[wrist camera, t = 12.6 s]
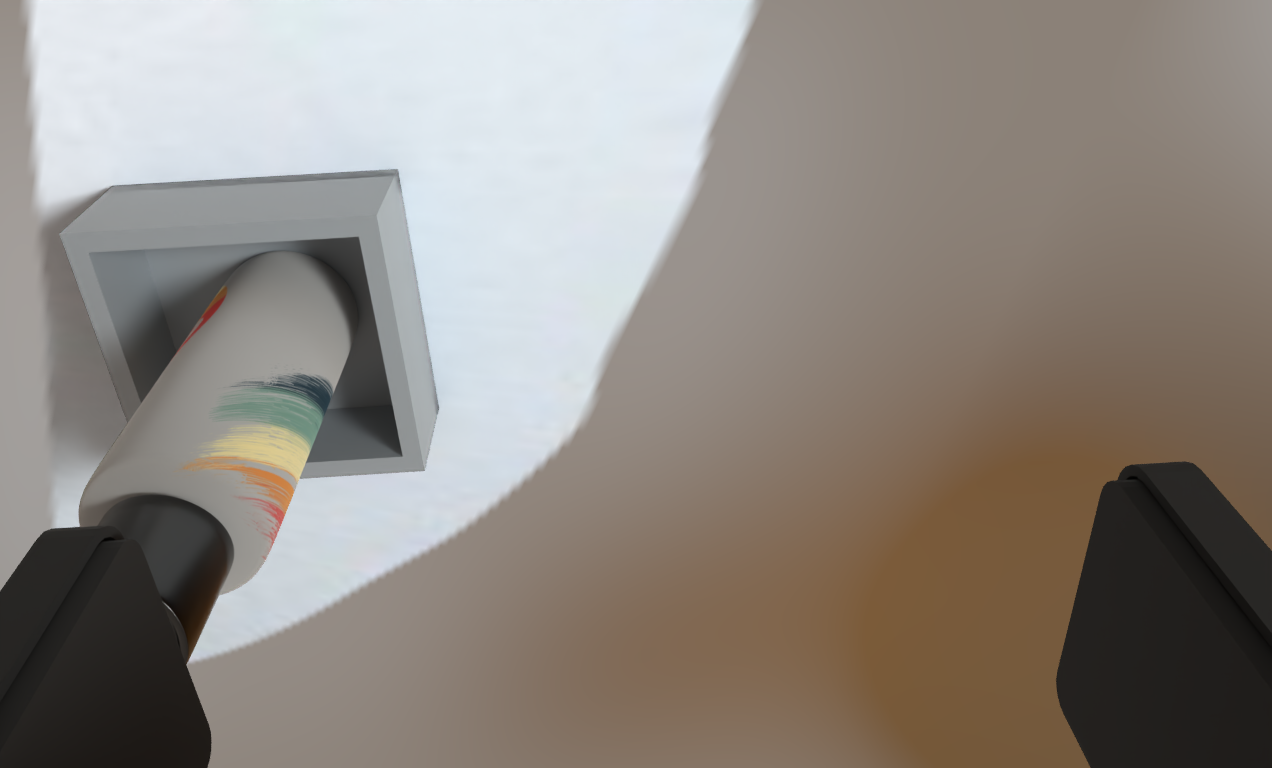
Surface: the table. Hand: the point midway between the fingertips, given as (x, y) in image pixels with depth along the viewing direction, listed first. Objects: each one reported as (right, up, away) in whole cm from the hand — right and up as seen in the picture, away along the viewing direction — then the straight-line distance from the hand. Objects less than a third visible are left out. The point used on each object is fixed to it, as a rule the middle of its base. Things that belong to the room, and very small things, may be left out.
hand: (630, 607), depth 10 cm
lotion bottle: (-15, +6, +34) cm, 37 cm away
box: (-15, +6, +35) cm, 38 cm away
